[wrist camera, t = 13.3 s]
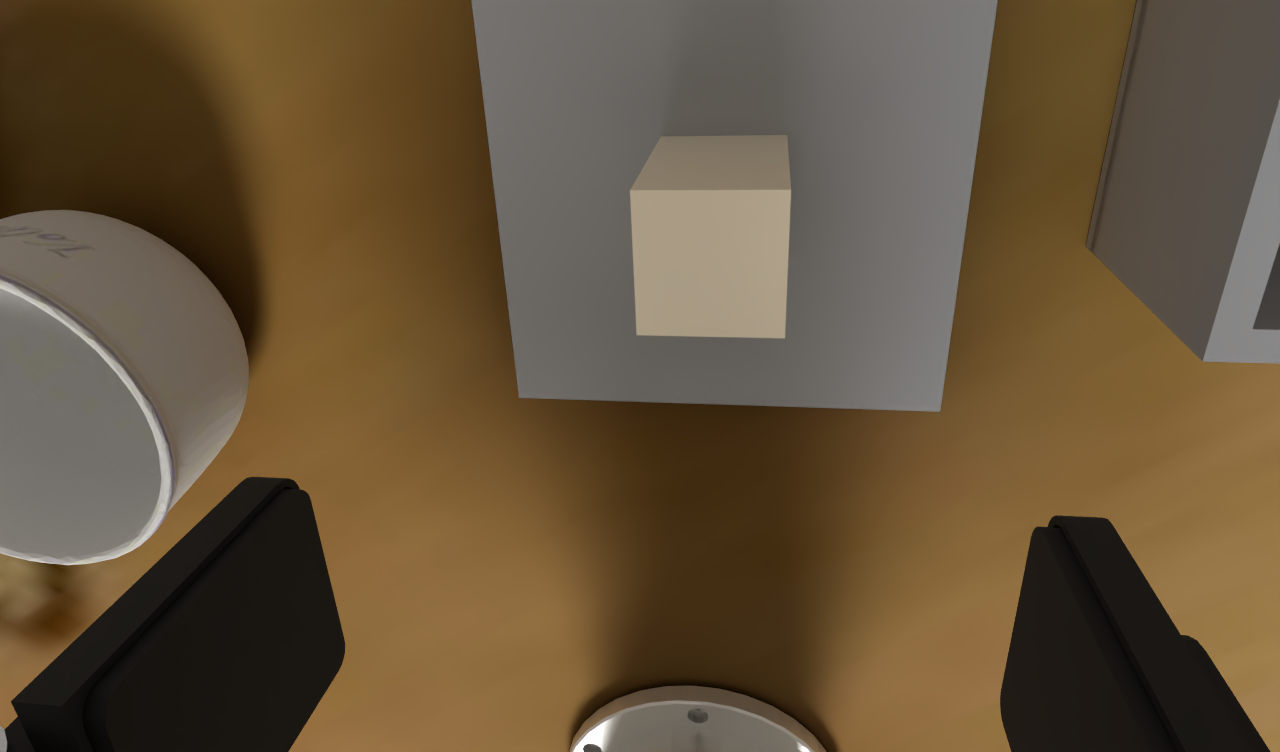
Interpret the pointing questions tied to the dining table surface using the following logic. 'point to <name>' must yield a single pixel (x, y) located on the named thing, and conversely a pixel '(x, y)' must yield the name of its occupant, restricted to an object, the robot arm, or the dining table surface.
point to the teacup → (105, 384)
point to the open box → (1198, 175)
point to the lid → (733, 194)
